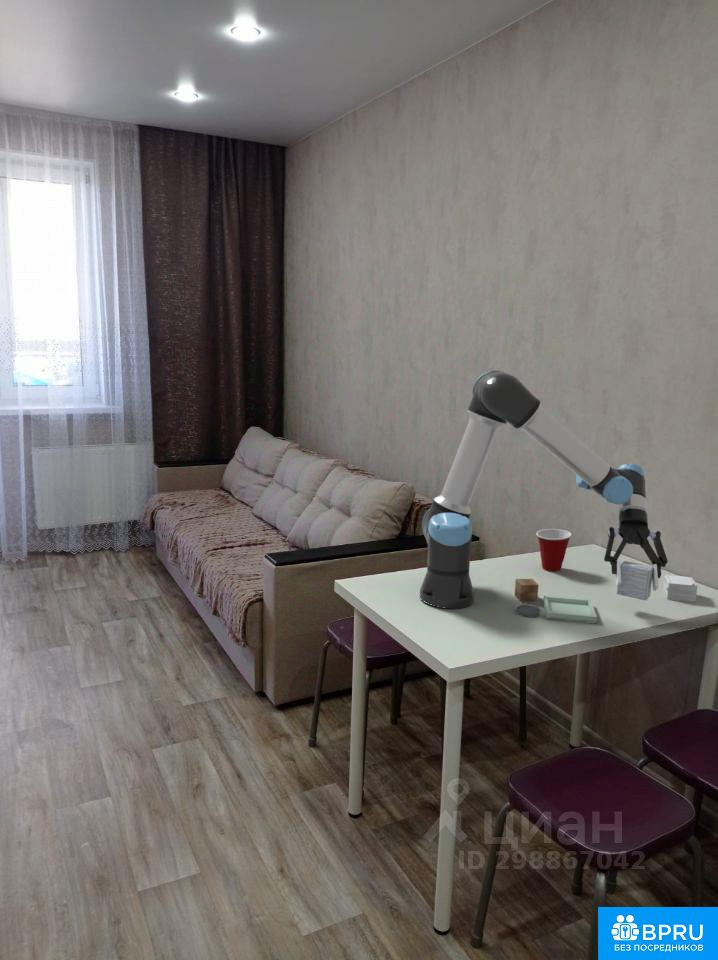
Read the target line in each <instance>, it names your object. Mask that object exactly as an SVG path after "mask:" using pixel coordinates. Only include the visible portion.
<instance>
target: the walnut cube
mask: <svg viewBox="0 0 718 960" xmlns="http://www.w3.org/2000/svg"><path fill="white" fill-rule="evenodd" d="M514 584H515V585H514V597H515V598H516V599H517V600H518V602H519V603H522V602H523V603H526V602H529V603H530V602H531V603H533V602H535V603H537V602H538V597H539V595H538V594H539V583H538V582H536V580H534V579H533V578H515V583H514ZM525 601H526V602H525Z"/></svg>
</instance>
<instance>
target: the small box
mask: <svg viewBox="0 0 718 960" xmlns="http://www.w3.org/2000/svg"><path fill="white" fill-rule="evenodd" d="M662 587H663V593H664V595H665V597H666V600H669V601H670V600H671V601H672V600H673V601H679V602H680V601H681V602H682V601H683V602H690V603H696V600H697V594H698V593H697V592H698V585H697V583H696V580H694V578H693V577H692V576H681V575H671V574H669V575H668V574H664V579H663V586H662Z"/></svg>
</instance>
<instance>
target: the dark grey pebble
mask: <svg viewBox="0 0 718 960" xmlns="http://www.w3.org/2000/svg"><path fill="white" fill-rule="evenodd" d="M540 611H541V610H540V608H539V607H538V606H535V605H531V604H519V605H517V606H516V614H517V615H518V616H522V617H524V618H536V617H538V616H540Z"/></svg>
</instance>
